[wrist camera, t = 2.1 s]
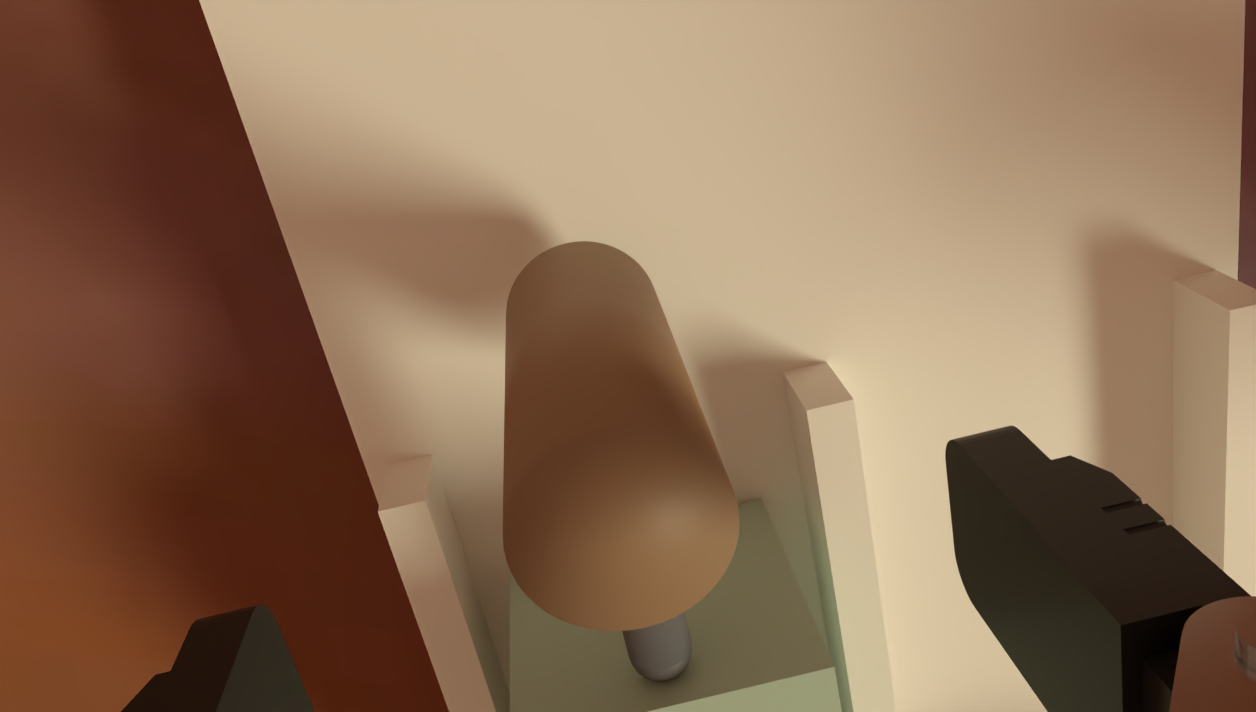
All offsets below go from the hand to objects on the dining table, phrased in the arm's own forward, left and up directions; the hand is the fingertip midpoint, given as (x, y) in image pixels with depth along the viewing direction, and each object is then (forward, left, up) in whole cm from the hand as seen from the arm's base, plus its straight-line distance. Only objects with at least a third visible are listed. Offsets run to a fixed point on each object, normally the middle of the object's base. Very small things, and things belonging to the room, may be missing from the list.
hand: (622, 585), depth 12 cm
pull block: (+6, 0, -11) cm, 12 cm away
